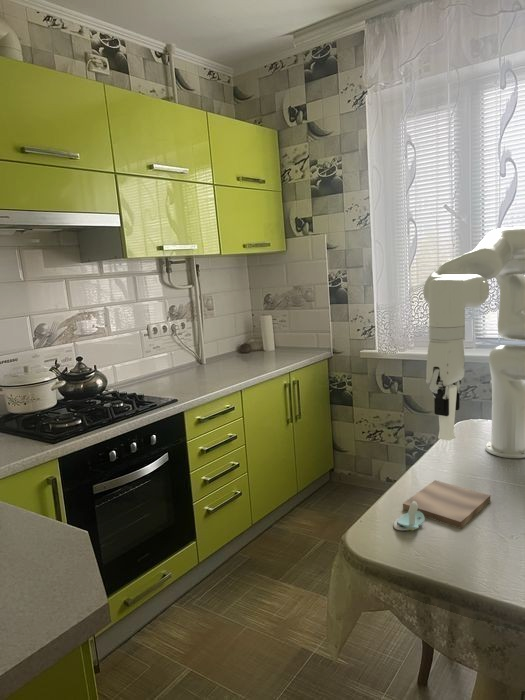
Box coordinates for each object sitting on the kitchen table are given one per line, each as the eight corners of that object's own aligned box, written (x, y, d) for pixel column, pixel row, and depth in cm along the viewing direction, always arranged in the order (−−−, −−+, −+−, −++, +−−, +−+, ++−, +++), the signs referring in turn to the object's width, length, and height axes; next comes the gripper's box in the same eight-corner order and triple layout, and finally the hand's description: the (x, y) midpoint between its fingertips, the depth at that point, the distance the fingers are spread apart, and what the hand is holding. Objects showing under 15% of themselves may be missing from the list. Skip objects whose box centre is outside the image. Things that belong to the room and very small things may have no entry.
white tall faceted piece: (457, 441, 116) (457, 377, 113) (437, 440, 117) (436, 376, 115) (456, 434, 120) (456, 372, 118) (437, 433, 122) (436, 372, 119)
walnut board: (435, 485, 132) (435, 480, 132) (490, 501, 122) (490, 495, 122) (402, 509, 121) (402, 503, 121) (460, 528, 111) (460, 522, 111)
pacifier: (388, 530, 113) (414, 537, 109) (386, 503, 112) (413, 509, 108) (401, 516, 118) (427, 522, 115) (400, 491, 117) (426, 496, 114)
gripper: (447, 327, 123) (448, 400, 126) (412, 338, 111) (413, 419, 115) (479, 328, 118) (478, 405, 121) (445, 340, 106) (445, 425, 109)
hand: (447, 411), depth 118 cm, fingers closed on white tall faceted piece, 4 cm apart
